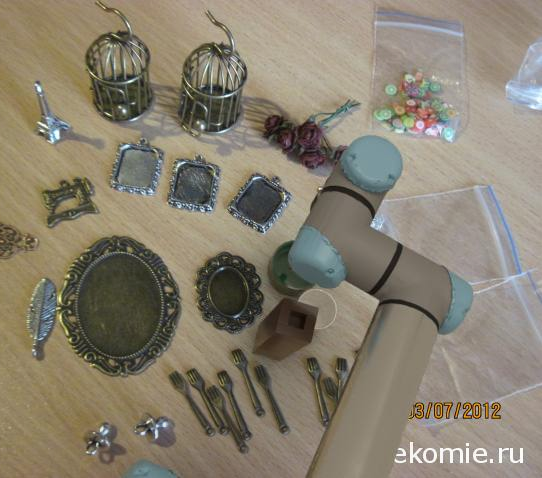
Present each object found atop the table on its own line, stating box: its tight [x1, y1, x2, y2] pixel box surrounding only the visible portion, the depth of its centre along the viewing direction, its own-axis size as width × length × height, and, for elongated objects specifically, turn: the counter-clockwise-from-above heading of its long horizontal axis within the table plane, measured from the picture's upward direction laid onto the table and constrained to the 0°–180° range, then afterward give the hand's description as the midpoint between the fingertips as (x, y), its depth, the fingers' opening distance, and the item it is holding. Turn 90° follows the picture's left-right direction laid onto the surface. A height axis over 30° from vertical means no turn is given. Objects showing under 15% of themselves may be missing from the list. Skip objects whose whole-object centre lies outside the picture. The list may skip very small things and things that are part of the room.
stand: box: [251, 296, 319, 362], centre depth 101 cm, size 6×6×26 cm
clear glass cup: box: [296, 288, 338, 333], centre depth 111 cm, size 8×8×10 cm
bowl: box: [267, 239, 316, 297], centre depth 116 cm, size 11×11×6 cm
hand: (303, 252), depth 104 cm, fingers closed on stick, 1 cm apart
